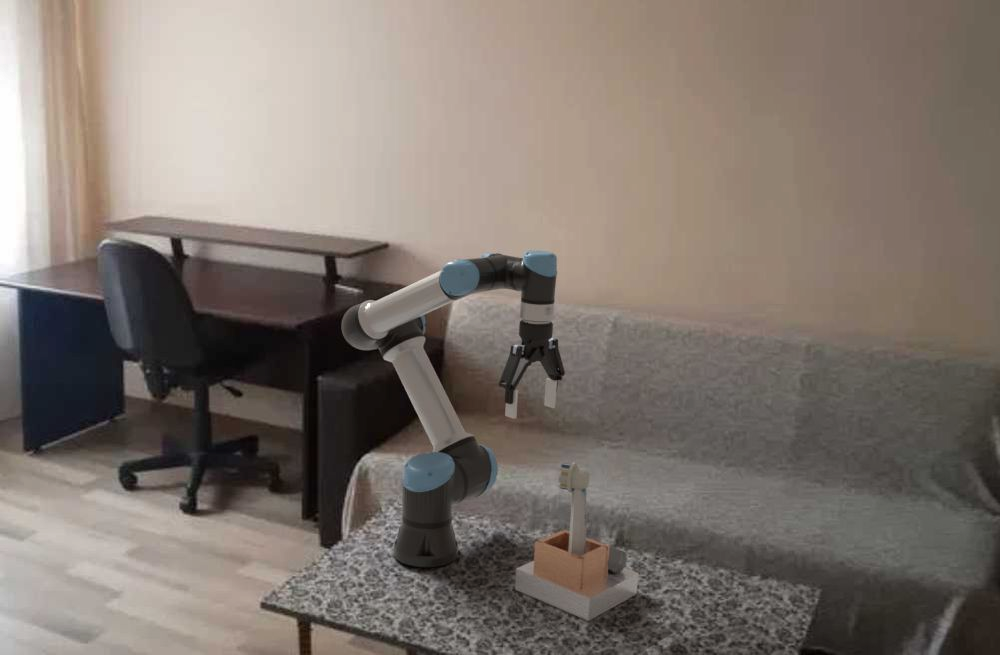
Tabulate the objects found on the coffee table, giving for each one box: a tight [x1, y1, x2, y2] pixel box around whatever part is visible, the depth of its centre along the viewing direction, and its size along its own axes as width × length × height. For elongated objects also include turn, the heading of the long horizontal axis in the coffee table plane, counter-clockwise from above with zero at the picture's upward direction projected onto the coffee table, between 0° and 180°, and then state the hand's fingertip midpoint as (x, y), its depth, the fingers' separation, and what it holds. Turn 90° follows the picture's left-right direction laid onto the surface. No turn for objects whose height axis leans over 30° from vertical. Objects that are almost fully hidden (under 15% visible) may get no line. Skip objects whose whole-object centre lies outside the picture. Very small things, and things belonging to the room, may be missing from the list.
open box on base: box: [514, 529, 639, 622], centre depth 225 cm, size 20×18×12 cm
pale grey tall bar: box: [558, 461, 590, 556], centre depth 222 cm, size 5×7×25 cm
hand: (530, 412), depth 234 cm, fingers open, 13 cm apart
